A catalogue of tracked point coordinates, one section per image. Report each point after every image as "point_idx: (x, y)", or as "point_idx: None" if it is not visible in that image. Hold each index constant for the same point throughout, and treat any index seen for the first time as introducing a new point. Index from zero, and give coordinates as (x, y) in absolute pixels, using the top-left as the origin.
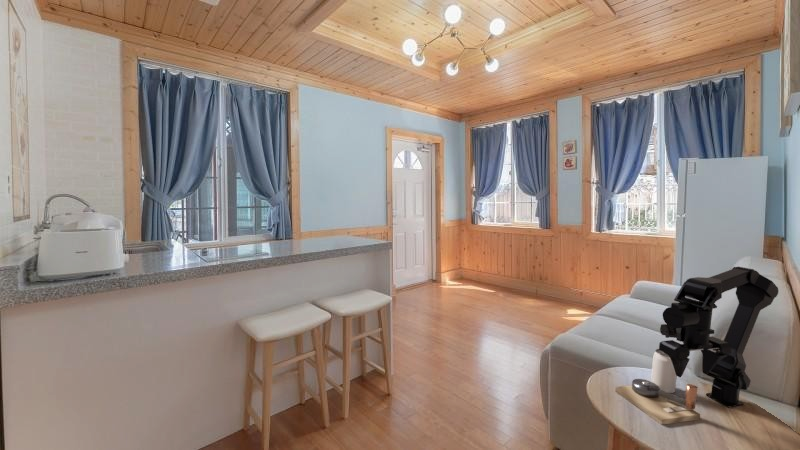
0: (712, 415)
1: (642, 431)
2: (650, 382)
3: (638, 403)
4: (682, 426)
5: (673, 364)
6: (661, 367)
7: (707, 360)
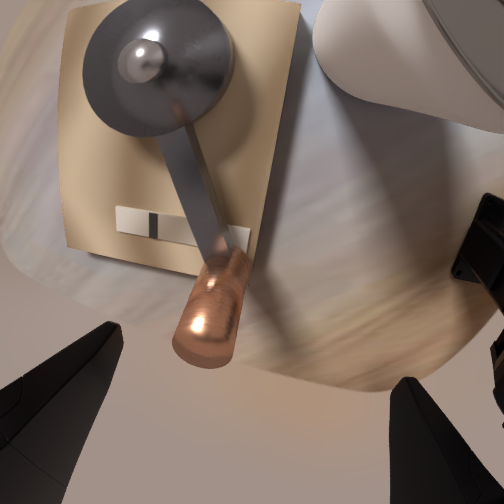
0: (335, 276)
1: (18, 236)
2: (209, 43)
3: (59, 140)
4: (139, 268)
5: (24, 383)
6: (342, 22)
7: (422, 498)
